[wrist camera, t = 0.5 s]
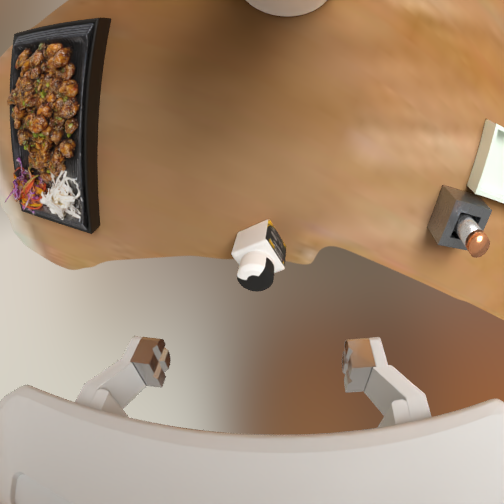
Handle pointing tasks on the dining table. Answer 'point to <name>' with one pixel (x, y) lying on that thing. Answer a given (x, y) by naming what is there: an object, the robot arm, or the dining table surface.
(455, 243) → the block
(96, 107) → the food platter
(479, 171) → the tray
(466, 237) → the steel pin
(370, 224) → the dining table surface
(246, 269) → the medicine bottle
